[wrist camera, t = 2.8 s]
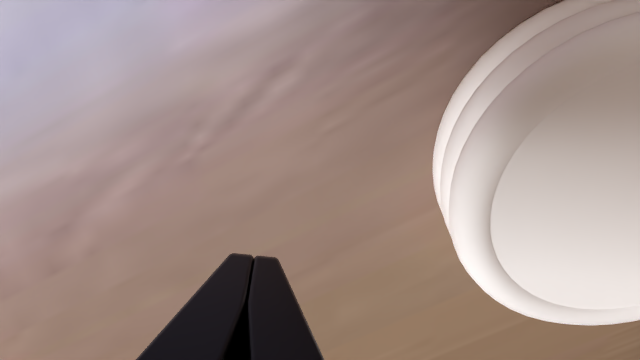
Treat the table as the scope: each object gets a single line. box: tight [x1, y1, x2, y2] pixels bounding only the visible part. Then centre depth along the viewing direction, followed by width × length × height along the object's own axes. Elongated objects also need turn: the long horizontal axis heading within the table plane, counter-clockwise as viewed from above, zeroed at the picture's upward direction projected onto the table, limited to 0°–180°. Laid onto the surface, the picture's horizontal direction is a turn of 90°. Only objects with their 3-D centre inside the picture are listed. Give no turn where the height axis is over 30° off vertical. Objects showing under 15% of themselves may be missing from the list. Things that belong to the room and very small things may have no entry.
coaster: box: [433, 0, 640, 325], centre depth 15 cm, size 10×10×4 cm
